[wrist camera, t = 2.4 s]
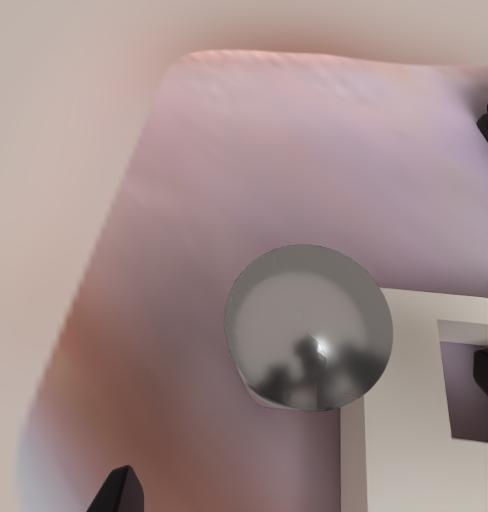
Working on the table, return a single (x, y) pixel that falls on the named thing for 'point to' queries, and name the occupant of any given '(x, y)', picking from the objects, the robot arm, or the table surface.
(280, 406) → the long pin
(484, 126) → the end cap
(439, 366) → the hole plate
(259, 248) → the table surface
